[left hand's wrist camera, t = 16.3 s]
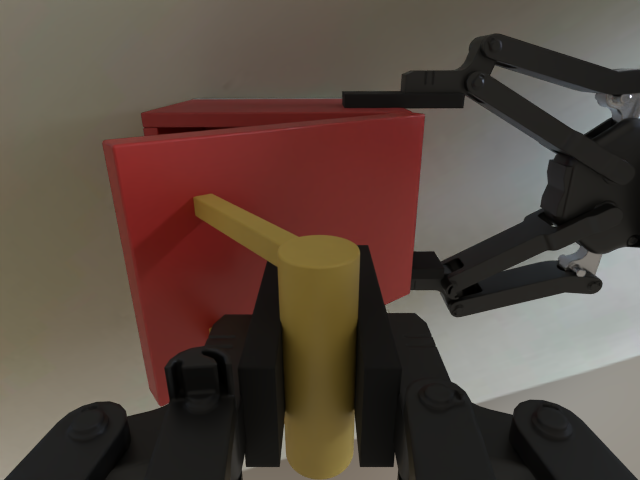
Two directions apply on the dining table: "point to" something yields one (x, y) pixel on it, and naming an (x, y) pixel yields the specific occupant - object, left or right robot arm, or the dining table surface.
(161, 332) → the lid
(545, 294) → the right robot arm
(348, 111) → the red box
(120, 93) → the dining table surface
